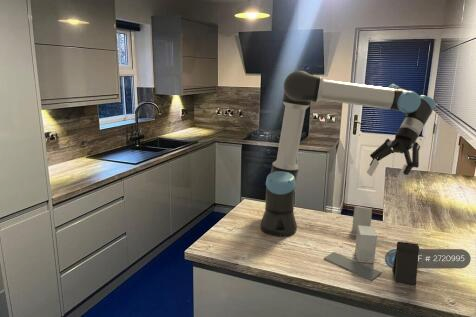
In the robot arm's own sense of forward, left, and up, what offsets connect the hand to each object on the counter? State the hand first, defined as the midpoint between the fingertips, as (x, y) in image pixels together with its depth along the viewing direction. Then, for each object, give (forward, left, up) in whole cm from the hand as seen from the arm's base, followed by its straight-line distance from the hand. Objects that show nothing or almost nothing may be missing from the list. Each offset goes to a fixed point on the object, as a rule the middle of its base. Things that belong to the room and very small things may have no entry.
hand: (383, 177), depth 136 cm
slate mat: (+4, -26, -25) cm, 36 cm away
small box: (+4, -17, -26) cm, 31 cm away
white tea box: (-8, +3, -26) cm, 27 cm away
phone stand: (+19, -19, -26) cm, 37 cm away
